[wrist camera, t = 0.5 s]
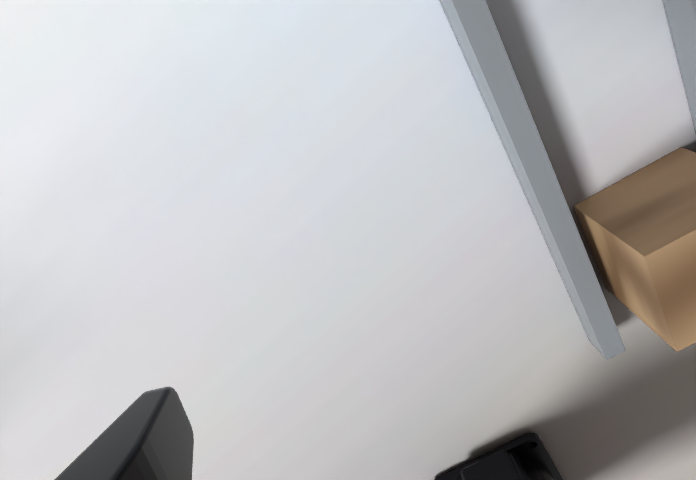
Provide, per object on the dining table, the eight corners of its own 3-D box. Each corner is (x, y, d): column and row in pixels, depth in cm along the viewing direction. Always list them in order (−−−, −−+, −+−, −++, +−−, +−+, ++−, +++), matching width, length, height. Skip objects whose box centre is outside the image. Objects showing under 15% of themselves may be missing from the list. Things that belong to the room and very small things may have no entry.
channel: (749, 259, 25) (776, 274, 23) (589, 340, 26) (606, 359, 25) (627, -283, 16) (660, -309, 14) (385, -122, 17) (394, -132, 15)
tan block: (703, 236, 24) (800, 290, 20) (605, 287, 25) (676, 351, 20) (679, 146, 22) (781, 184, 18) (572, 205, 23) (644, 256, 18)
